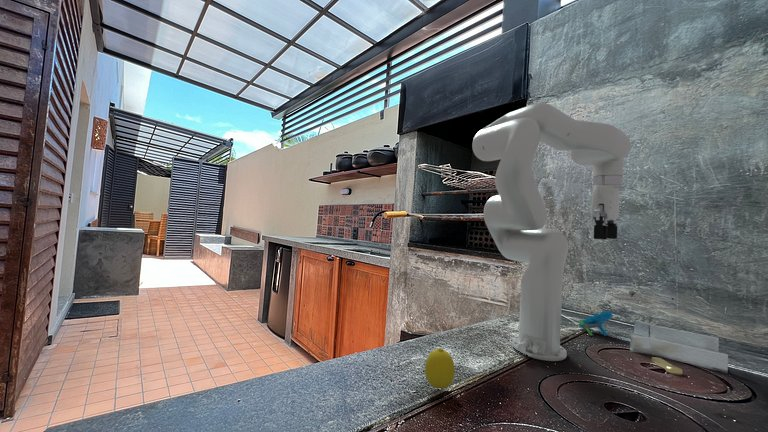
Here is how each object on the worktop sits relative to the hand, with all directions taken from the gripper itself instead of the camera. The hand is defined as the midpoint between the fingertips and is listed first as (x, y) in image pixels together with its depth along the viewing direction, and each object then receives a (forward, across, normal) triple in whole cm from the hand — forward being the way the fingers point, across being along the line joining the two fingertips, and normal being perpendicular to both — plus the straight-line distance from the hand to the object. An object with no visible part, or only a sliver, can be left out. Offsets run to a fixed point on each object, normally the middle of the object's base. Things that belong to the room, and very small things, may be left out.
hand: (605, 238), depth 94 cm
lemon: (+29, +66, -8) cm, 72 cm away
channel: (+29, -3, +16) cm, 33 cm away
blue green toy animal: (+30, 0, -2) cm, 30 cm away
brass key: (+29, +12, +16) cm, 35 cm away
